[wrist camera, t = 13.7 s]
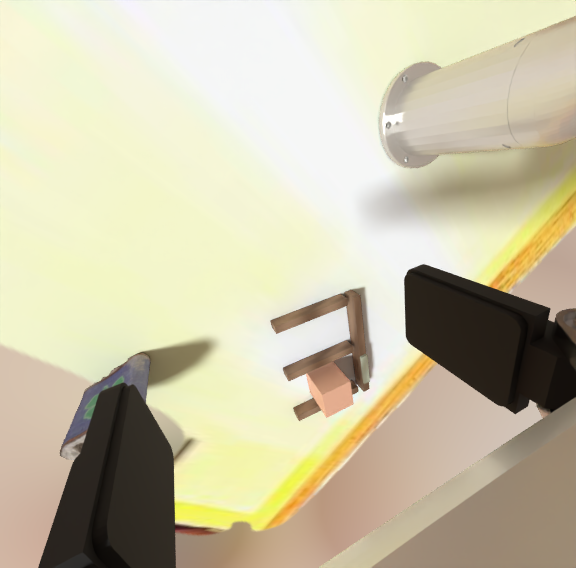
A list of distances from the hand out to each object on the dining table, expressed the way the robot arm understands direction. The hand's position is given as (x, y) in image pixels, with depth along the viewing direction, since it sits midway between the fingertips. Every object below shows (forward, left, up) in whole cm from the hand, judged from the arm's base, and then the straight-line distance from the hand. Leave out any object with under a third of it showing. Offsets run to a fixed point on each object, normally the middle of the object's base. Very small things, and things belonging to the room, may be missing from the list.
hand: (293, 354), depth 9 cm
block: (-11, +30, -28) cm, 43 cm away
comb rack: (-11, +26, -28) cm, 40 cm away
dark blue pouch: (+16, +16, -29) cm, 36 cm away
